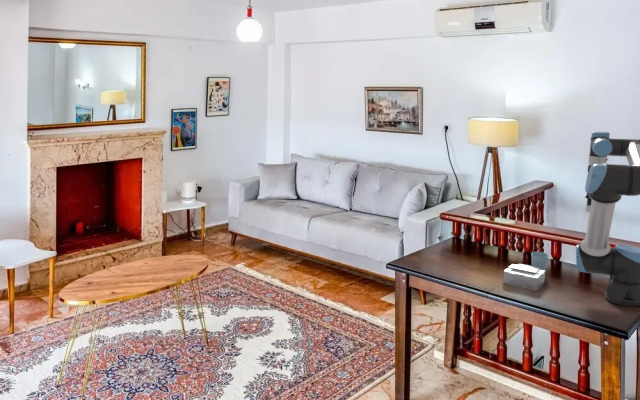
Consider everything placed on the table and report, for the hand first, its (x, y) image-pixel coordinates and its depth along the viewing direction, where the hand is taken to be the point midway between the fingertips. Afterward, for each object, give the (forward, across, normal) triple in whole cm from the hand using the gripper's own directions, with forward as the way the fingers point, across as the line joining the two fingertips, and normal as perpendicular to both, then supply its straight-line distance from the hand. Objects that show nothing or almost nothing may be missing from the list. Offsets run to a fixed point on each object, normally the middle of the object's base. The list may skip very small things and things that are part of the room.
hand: (592, 209), depth 263 cm
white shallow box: (+30, -30, +19) cm, 47 cm away
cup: (+32, -17, +17) cm, 40 cm away
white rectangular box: (+32, -32, +19) cm, 49 cm away
